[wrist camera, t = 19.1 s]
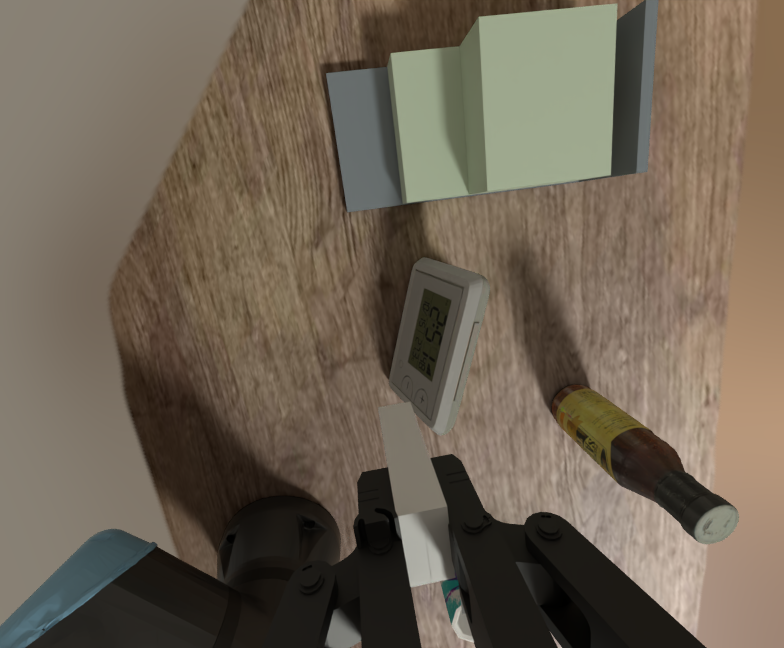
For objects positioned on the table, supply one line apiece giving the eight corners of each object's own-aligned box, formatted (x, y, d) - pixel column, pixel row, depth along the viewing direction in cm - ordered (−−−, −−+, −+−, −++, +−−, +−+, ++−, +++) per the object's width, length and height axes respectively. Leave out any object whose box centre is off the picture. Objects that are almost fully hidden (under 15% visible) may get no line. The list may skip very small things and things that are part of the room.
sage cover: (402, 203, 38) (416, 200, 31) (387, 66, 35) (398, 24, 27) (560, 183, 40) (610, 175, 32) (560, 48, 36) (617, 3, 28)
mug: (438, 586, 55) (454, 649, 47) (431, 520, 52) (446, 575, 44) (493, 575, 56) (517, 635, 48) (489, 509, 52) (515, 562, 44)
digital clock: (418, 248, 41) (441, 258, 31) (489, 278, 43) (533, 297, 33) (363, 376, 45) (368, 423, 35) (431, 399, 47) (455, 450, 36)
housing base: (347, 212, 39) (347, 210, 30) (326, 77, 36) (319, 30, 27) (583, 181, 41) (649, 171, 32) (586, 50, 38) (660, -3, 29)
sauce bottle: (539, 405, 48) (662, 527, 29) (576, 372, 48) (726, 475, 29) (568, 435, 50) (702, 568, 31) (604, 403, 49) (764, 519, 30)
